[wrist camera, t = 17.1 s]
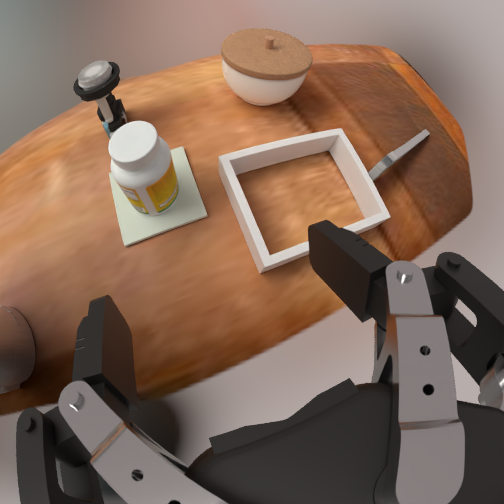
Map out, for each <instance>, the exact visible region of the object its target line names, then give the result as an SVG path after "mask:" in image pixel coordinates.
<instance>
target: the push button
mask: <svg viewBox="0 0 504 504" xmlns="http://www.w3.org/2000/svg"><path fill="white" fill-rule="evenodd" d="M119 72H120V70H119V66H118V65H117V64H116V63H114V62H107V61H104V60H102V61H97V62H94V63H91V64H90V65H88V66H87V67H85V68H84V69H83V70H82V71H81V72H80V74H79V76H78V78H77V80H76V81H75V83H74V91H75V93H76V94H77V95H79V96H80V97H81V99H82V100H84V101H87V102H88V101H92V100H95V101H96V102H97V104H98V110H97V114H98V116H99V118H100V120H101V121H102V125H103V127H104V129H105V131H106V133H107V135H108V137H109V138H110V139H111V137H112V135H113V134H114V133H115V131H117V130H118V129H119V128H120V127H122V126H123V118H124V120H125V122H126V124H127V118H126V115H125V109H124V107H123V104H122V101H121V99H118V100H116V99H115V97H114V95H112V93H111V91H112V90H113V89H114V88H115V87H116V86H117V85H118V83H119V80H120V78H119Z"/></svg>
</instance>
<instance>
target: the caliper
mask: <svg viewBox="0 0 504 504" xmlns="http://www.w3.org/2000/svg"><path fill="white" fill-rule="evenodd" d="M429 134H430V133H429V132H428V131H427V130H426V129H425V130H424V131H422V132H421V133H419V134H418V135H417V136H415V137H414V138H412V139H411V140H410V141H408V142H407V143H406V144H404V145H403V146H401V147H399V148H398V149H396V150H395V151H391V152H390V153H389V154H387V155H386V156H385V157H384V158H383V159H382V160H381V161H380V162H379V163H378V164H377V165H376V166H374V167H373V168H372V169H371V170H370V171H369V172H368V174H369V176H370V178H371V179H372V181H374V180H375V179H377V178H378V177H379V176H380V175H381V174H382V173H383V172H384V171H385V170H386V169H388V168H389V167H390V166H392V165H393V164H394V163H395V162H396V161H398V160H399V159H400V158H401V157H402V156H404V155H405V154H406V153H407V152H409V151H410V150H411V149H412V148H414V147H415V146H416V145H417V144H418V143H420V142H421V141H422V140H423V139H425V138H426V137H427V136H428V135H429Z"/></svg>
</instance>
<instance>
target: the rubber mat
mask: <svg viewBox="0 0 504 504" xmlns="http://www.w3.org/2000/svg"><path fill="white" fill-rule="evenodd" d="M170 152H171V156H172V160H173V164H174V168H175V172H176V176H177V180H178V185H179V194H178V197H177V200H176V202H175V203H174V204H173V205H172V207H171V208H169V209H168V210H167V211H166V212H164V213H162V214H159V215H155V216H147V215H143V214H141V213H139V212H138V211H137V210H135V208H134V207H133V206H132V205H131V203H130V202H129V200H128V199H127V197H126V196H125V194H124V193H123V191H122V190H121V188H120V187H119V185H118V184H117V182H116V181H115V179H114V177H113V175H112V172H111V173H109V176H110V182H111V187H112V193H113V198H114V203H115V208H116V212H117V217H118V221H119V225H120V230H121V234H122V238H123V242H124V246H126V247H127V246H129V245H132V244H134V243H137V242H140V241H142V240H145V239H147V238H150V237H153V236H155V235H158V234H161V233H163V232H166V231H169V230H171V229H174V228H177V227H180V226H182V225H185V224H188V223H191V222H194V221H196V220H199V219H202V218H205V217H208V216H207V213H206V210H205V207H204V204H203V202H202V199H201V196H200V193H199V191H198V188H197V185H196V182H195V180H194V177H193V174H192V171H191V168H190V166H189V163H188V160H187V157H186V154H185V151H184V148H183V146H181V147H178V148H175V149H172V150H170Z"/></svg>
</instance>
